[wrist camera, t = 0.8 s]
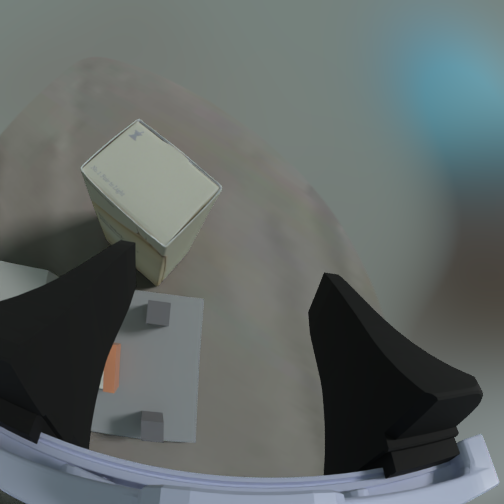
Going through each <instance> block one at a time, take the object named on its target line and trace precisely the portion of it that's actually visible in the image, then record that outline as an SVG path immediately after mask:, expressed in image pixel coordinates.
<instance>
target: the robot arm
mask: <svg viewBox="0 0 504 504" xmlns="http://www.w3.org/2000/svg"><path fill="white" fill-rule="evenodd" d="M135 288H136V243H135V242H129V241H124V240H120V241H118V242H116V243H114V244H113V245H111V246H110V247H108V248H107V249H105V250H103V251H102V252H100V253H99V254H97V255H96V256H94V257H93V258H91V259H90V260H88V261H86V262H85V263H83V264H81V265H80V266H78V267H76V268H75V269H73V270H71V271H70V272H68V273H66V274H65V275H63V276H61V277H59V278H57V279H55V280H53V281H51V282H49V283H47V284H45V285H43V286H40V287H38V288H35V289H33V290H30V291H28V292H25V293H23V294H20V295H18V296H15V297H12V298H8V299H5V300H2V301H0V490H2V491H3V492H5V493H7V494H9V495H10V496H12V497H14V498H16V499H18V500H20V501H22V502H24V503H25V504H465V503H467V502H468V501H471V500H473V499H474V498H476V497H478V496H480V495H481V494H484V493H485V492H487V491H489V490H490V489H492V488H494V487H495V486H497V485H498V484H499V480H498V477H497V474H496V471H495V468H494V465H493V462H492V460H491V457H490V455H489V452H488V449H487V446H486V444H485V441H484V439H483V437H482V434H478V435H475V436H472V437H470V438H466V439H464V440H462V441H460V442H458V443H456V441H455V438H454V437H456V436H457V435H458V430H457V427H456V426H457V425H458V424H459V423H460V422H461V421H463V420H464V419H465V418H466V417H467V416H468V415H469V414H470V413H471V412H472V411H473V410H474V409H475V408H476V407H477V406H478V405H479V403H480V402H481V399H482V396H483V393H482V390H481V388H480V386H479V384H478V382H477V380H476V379H475V377H474V376H472V375H469V374H467V373H465V372H462V371H460V370H458V369H456V368H454V367H451V366H450V365H448V364H446V363H444V362H442V361H440V360H439V359H437V358H435V357H433V356H432V355H430V354H428V353H427V352H426V351H424V350H422V349H421V348H419V347H418V346H417V345H415V344H414V343H412V342H411V341H410V340H408V339H407V338H406V337H404V336H403V335H402V334H401V333H399V332H398V331H397V330H396V329H394V328H393V327H392V326H391V325H390V324H389V323H388V322H387V321H385V320H384V319H383V318H382V317H381V316H380V315H379V314H378V313H377V312H376V311H375V310H374V309H373V308H372V307H371V306H370V305H369V304H368V303H367V302H366V301H365V300H364V299H363V298H362V297H361V296H360V295H359V294H358V293H357V292H356V291H355V290H354V289H353V288H352V287H351V286H350V285H349V284H348V283H347V282H346V281H345V280H344V279H343V278H342V277H341V276H339V275H337V274H330V273H324V274H323V277H322V279H321V282H320V285H319V287H318V290H317V292H316V295H315V297H314V300H313V302H312V304H311V307H310V309H309V312H308V314H309V327H310V336H311V340H312V345H313V349H314V354H315V358H316V362H317V367H318V371H319V375H320V380H321V386H322V393H323V404H324V420H325V463H324V476H310V477H287V478H257V477H234V476H220V475H209V474H200V473H192V472H185V471H178V470H172V469H166V468H160V467H155V466H150V465H145V464H140V463H136V462H132V461H127V460H123V459H120V458H116V457H112V456H108V455H105V454H101V453H98V452H95V451H91V450H89V442H90V434H91V426H92V420H93V415H94V409H95V404H96V399H97V395H98V390H99V386H100V382H101V378H102V375H103V371H104V367H105V364H106V361H107V358H108V355H109V352H110V350H111V348H112V345H113V343H114V341H115V339H116V336H117V334H118V332H119V330H120V327H121V325H122V323H123V321H124V319H125V316H126V314H127V312H128V310H129V307H130V304H131V301H132V298H133V295H134V292H135Z"/></svg>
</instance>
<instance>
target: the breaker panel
mask: <svg viewBox="0 0 504 504" xmlns="http://www.w3.org/2000/svg"><path fill="white" fill-rule="evenodd" d="M57 278H59V277H58V276H57V275H55V274H53V273H52V272H50V271H49V270H44V269H39V268H34V267H29V266H23V265H18V264H13V263H9V262H4V261H0V301H2V300H5V299H8V298H12V297H15V296H18V295H20V294H23V293H25V292H28V291H30V290H33V289H35V288H38V287H40V286H43V285H45V284H47V283H49V282H51V281H53V280H55V279H57ZM203 307H204V299H202V298H193V297H185V296H177V295H169V294H161V293H154V292H147V291H140V290H135V292H134V295H133V298H132V301H131V304H130V307H129V310H128V312H127V314H126V316H125V319H124V321H123V323H122V325H121V327H120V330H119V332H118V334H117V336H116V339H115V341H114V343H121V352H120V370H119V387H118V388H117V390H116V391H115V393H108V392H103V389H101V388H99V390H98V395H97V399H96V404H95V409H94V415H93V420H92V426H91V431H94V432H99V433H105V434H111V435H118V436H125V437H132V438H140V439H141V441H151V442H162V443H164V441H174V442H194V443H196V420H197V398H198V379H199V362H200V347H201V333H202V319H203Z"/></svg>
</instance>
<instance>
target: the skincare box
mask: <svg viewBox="0 0 504 504" xmlns="http://www.w3.org/2000/svg"><path fill="white" fill-rule="evenodd" d="M80 170H81V173H82V175H83V178H84V181H85V184H86V186H87V189H88V192H89V195H90V198H91V201H92V203H93V206H94V209H95V212H96V214H97V217H98V220H99V222H100V225H101V228H102V230H103V233H104V235H105V238H106V240H107V241H108V242H109V243H110V244H111V245H113V244H114V243H116V242H118V241H120V240H124V241H129V242H135V243H136V269H137V270H138V271H139V272H141V273H142V274H143V275H144V276H145V277H146V278H147V279H148V280H150V281H151V282H152V283H153V284H154V285H155V286H159V284H160V283H161V282H162V281H163V280H164V279H165V278H166V277H167V276H168V275H169V273H170V272H171V271H172V270H173V269H174V268H175V267H176V265H177V264H178V263H179V262H180V261H181V260H182V259H183V257H184V256H185V255H186V254H187V253H188V251H189V249H190V247H191V245H192V244H193V242H194V240H195V238H196V236H197V234H198V232H199V230H200V228H201V226H202V225H203V223H204V221H205V219H206V217H207V216H208V214H209V212H210V210H211V208H212V206H213V205H214V203H215V201H216V199H217V198H218V196H219V194H220V192H221V191H222V187H221V185H220V184H219V183H218V182H217V181H215V180H214V179H213V178H212V177H211V176H210V175H209V174H207V173H206V172H205V171H204V170H203V169H201V168H200V167H199V166H198V165H197V164H196V163H194V162H193V161H192V160H191V159H190V158H189V157H187V156H186V155H185V154H184V153H183V152H182V151H180V150H179V149H178V148H176V147H175V146H174V145H173V144H171V143H170V142H169V141H168V140H166V139H165V138H164V137H162V136H161V135H160V134H159V133H157V132H156V131H155V130H153V129H152V128H151V127H150V126H148V125H147V124H146V123H144V122H143V121H142V120H141V119H137V120H136V121H135V122H133V123H132V124H131V125H129V126H128V127H126V128H125V129H124V130H123V131H121V132H120V133H119V134H117V135H116V136H115V137H114V138H112V139H111V140H110V141H109V142H108V143H106V144H105V145H104V146H103V147H101V148H100V149H99V150H98V151H97V152H96V153H95V154H94V155H93V156H92V157H90V158H89V159H88V160H87V161H86V162H85V163H84V164H83V165H82V166H81V169H80Z"/></svg>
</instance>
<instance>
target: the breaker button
mask: <svg viewBox="0 0 504 504" xmlns="http://www.w3.org/2000/svg"><path fill="white" fill-rule="evenodd" d="M120 352H121V343H113V345H112V348H111V350H110V352H109V355H108V358H107V361H106V364H105V367H104V371H103V375H102V378H101V382H100V386H99V388H101V389H103V392H108V393H115V391H116V390H117V388H118V387H119V370H120Z"/></svg>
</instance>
